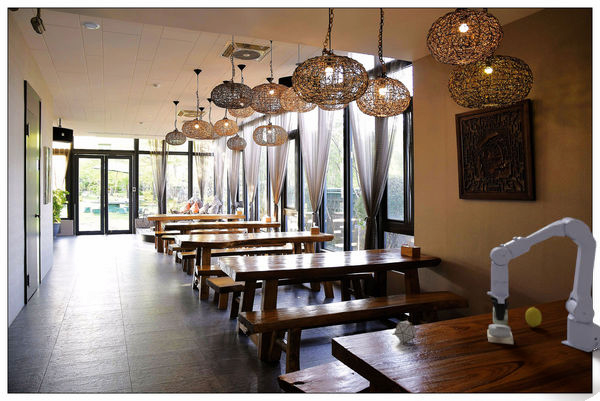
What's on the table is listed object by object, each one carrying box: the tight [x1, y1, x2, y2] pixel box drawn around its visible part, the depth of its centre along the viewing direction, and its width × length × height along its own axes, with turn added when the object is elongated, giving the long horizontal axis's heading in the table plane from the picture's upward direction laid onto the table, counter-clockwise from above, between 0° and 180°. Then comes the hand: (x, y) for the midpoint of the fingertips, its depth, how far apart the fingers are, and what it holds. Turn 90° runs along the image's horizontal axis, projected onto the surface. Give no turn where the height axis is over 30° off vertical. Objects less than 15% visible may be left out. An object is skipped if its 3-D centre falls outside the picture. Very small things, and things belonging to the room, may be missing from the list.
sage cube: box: [492, 306, 509, 326], centre depth 161 cm, size 4×4×5 cm
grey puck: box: [488, 323, 512, 338], centre depth 161 cm, size 7×7×2 cm
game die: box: [391, 318, 419, 346], centre depth 159 cm, size 9×8×10 cm
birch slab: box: [486, 328, 514, 345], centre depth 161 cm, size 8×8×2 cm
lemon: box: [525, 306, 542, 328], centre depth 173 cm, size 6×6×8 cm
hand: (499, 318), depth 161 cm, fingers closed on sage cube, 4 cm apart
